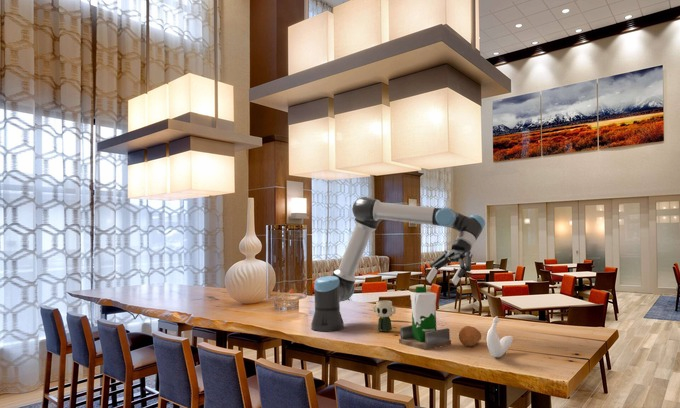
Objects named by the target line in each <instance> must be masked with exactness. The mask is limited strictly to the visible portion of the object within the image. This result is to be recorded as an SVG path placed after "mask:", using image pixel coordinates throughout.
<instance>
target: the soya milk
mask: <svg viewBox="0 0 680 408" xmlns="http://www.w3.org/2000/svg"><path fill="white" fill-rule="evenodd" d="M437 294H438V293H435V292H432V291H427V287H426V286H415V291H410V300H411V301H410V303H411V324H412V331H413V339H415V340H417V341H419V342H425V332H430V331H435V330H438V329H437V310H436V309H437V307H436V303H437Z"/></svg>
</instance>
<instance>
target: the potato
mask: <svg viewBox="0 0 680 408" xmlns="http://www.w3.org/2000/svg"><path fill="white" fill-rule="evenodd" d="M482 336H483V335H482V333H481V331H480V330H478V329H477V328H476V327H474V326H471V325H466V326H464V327H462V328H461V329H460V330H459V332H458V340H459V341H460V343H461V344H462V345H463V346H466V347H474V346H475V345H476V344H478V343H479V342H480V341H481V340H482Z"/></svg>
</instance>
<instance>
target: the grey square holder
mask: <svg viewBox="0 0 680 408" xmlns="http://www.w3.org/2000/svg"><path fill="white" fill-rule="evenodd" d="M399 329H400V332H399V333H400V338H399V339H398V343H399V344H400V343H401V345H404V344H405V346H409V347H413V348H416V349H420V350H425V351H426V350H427V349H428V350H431V348H433V349H436V348H435V347H437V348H441V347H440V346H442V347H445V345H446V346H450V345H452V340H451V339H450V328H447V327H446V328H442V329H437V330H435V331H430V332H425V342H419V341H417V340H415V339H413V331H412V325H405V326H400V328H399ZM428 350H427V351H428Z"/></svg>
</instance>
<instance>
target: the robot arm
mask: <svg viewBox="0 0 680 408" xmlns="http://www.w3.org/2000/svg"><path fill="white" fill-rule="evenodd" d="M351 210H352V215H353V216H354V224H355V226H354V229H353V232H352V233H351V236H350V238H349V241H348V243H347V246H346V249H345V251H344V254H343V255H342V259H341V261H340V264H339V265H338V266H339V267H337V268H338V269H335V270H334V271H333V273H332V275H326V276H321V277H317V278H316V279H315V280H314V286H313V288H314V312H313V313H314V314H313V317H312V320H311V325H310V326H311V327H310V328H311V330H313V331H316V330H317V332H334V331H340V330H343V329H344V328H345V327H344V325H345V324H344V320H343V317H342V314H341V311H340V310H341V309H340V307H341V305H340V303H341V302H345V301H347V300H348V299H350V298H351V297H352V296H353V295H354V292H355V283H356V279H357V278H356V277H355V275H356V272H357V270H358V267H359V264H360V262H361V259H362V257H363V255H364V252H365V249H366V247H367V245H368V242H369V240H370V237H371V235H372V232H375V231H376V230H377V228H378V226H379V224H380V222H382V221H383V220H385V221H386V220H387V221H394V222H403V223H411V224H420V225H421V224H423V225H432V226H437V227H438V226H440V227H445V228H447V227H448V228H451V229H453V230H455V231H458V232H459V233H458V235H457V237H456V238H455V240H454V241H453V243H452V245H451V250H450V251H447V250H444V251H443V252H442V253H441V254H440V255H439V256H438V257H437V258H436V259H434V260H433V261H432V262H431V263H429V267H430V268H431V269H430V270H429V271H428V274H427V276H426V278H425V279H426V281H427V282H428V283H429V284H431V283H432V281H433V279H434V278H435V277H436V275H437V273H438V271H439V270H440V269H441V268H443V267H444V266H446V265H447V264H451V263H453V262H455V263H459V267H458V269H457V270H456V272H455V274H454V275H453V277H452V279H451V282H452V283H453V285H454V286H457V285H458V283H459V282H460V280H461V279H462V278H463V277H464V275H465V274H466V273H467V272H468V273H469V272H471V271H472V257H473V254H472V252H471V250H472V248H473V246H474V245H475V244H476V242H477V240H478V238H479V237H480V235H481V233H482V232H483V230H484V228H485V225H486V222H485V219H484V218H483V216H481V215H479V214H471V215H470V216H466V215H464V214H461V213H460V212H458V211H455V210H453V209H451V208H448V207H444V206H443V207H441V208H440V207H434V206H433V207H432V206H421V205H411V204H403V203H402V204H401V203H392V202H381V200H379V199H377V198H372V197H367V196H362V197H359V198H357V199H356V200H355V201H354V203H353V205H352V209H351ZM464 258H465V261H464Z"/></svg>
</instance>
